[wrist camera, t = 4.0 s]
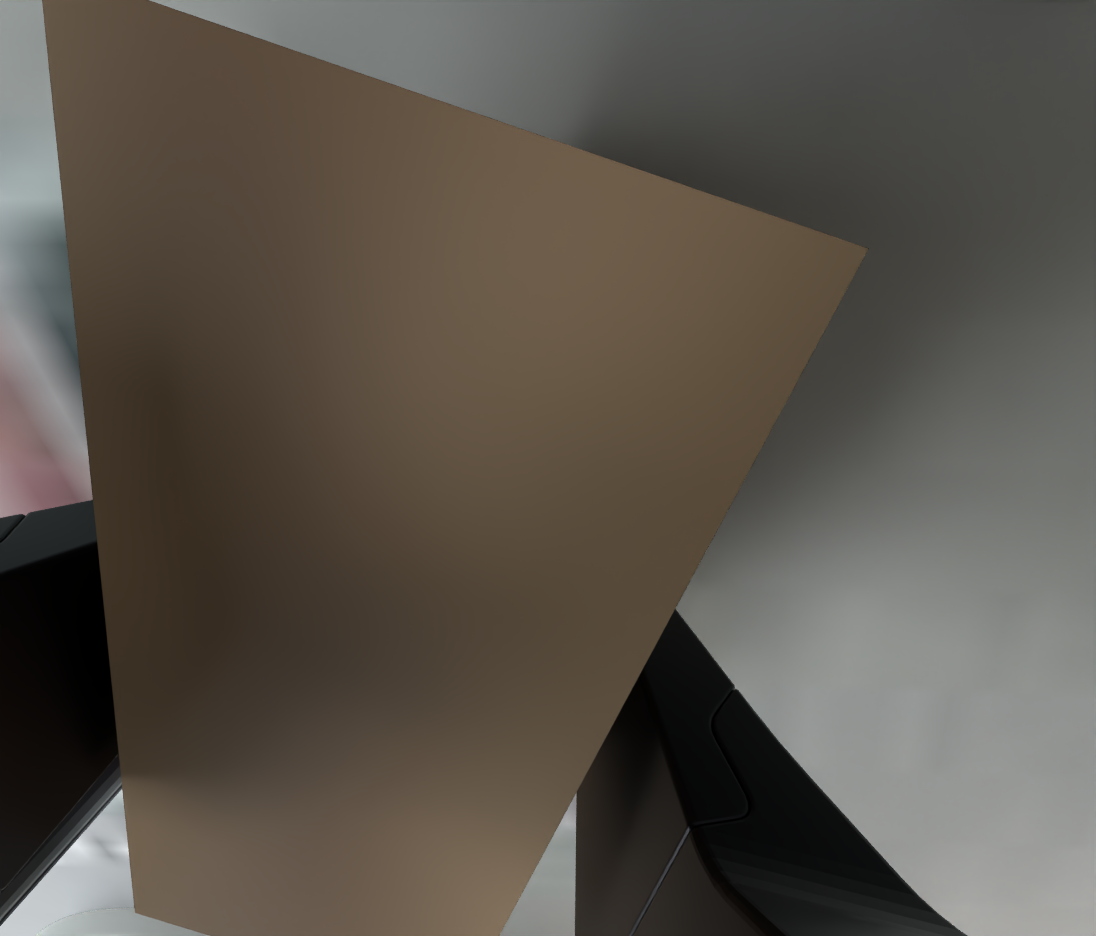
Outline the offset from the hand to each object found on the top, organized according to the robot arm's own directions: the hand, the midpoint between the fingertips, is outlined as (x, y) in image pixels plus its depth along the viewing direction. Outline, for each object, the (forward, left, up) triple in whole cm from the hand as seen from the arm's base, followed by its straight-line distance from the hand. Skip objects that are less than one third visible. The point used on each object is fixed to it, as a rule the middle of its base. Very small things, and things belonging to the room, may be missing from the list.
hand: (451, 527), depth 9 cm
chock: (0, 0, -1) cm, 1 cm away
